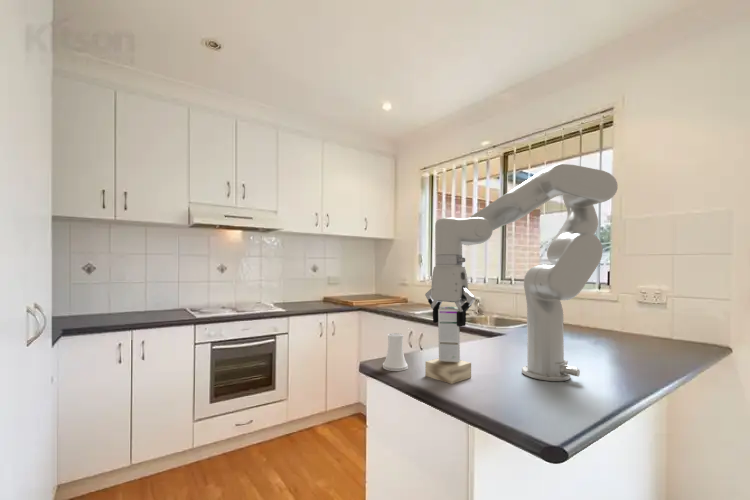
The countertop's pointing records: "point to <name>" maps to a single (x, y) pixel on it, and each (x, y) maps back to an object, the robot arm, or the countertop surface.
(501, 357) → the countertop surface
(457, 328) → the syrup box
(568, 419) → the countertop surface
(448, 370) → the beech block
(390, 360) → the white flared cylinder
